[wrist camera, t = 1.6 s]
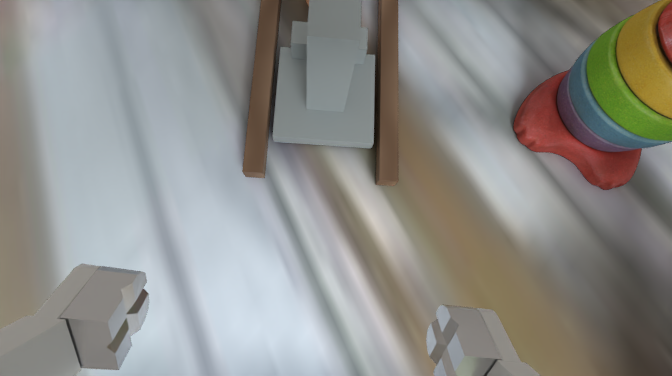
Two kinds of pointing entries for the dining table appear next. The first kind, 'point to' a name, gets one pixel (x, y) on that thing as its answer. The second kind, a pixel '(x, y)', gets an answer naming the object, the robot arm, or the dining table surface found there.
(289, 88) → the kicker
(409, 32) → the dining table surface
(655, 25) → the stacking bear
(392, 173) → the lane
